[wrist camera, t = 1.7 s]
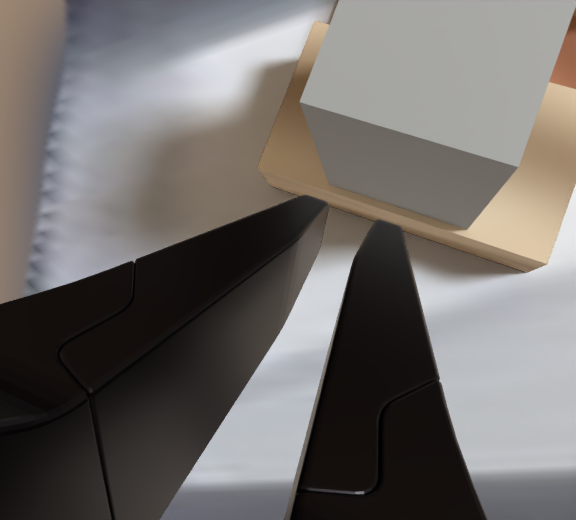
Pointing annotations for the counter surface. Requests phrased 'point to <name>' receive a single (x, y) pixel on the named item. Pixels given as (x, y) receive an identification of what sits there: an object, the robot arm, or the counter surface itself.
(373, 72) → the gray block
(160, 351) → the robot arm
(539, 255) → the trap box
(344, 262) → the counter surface
